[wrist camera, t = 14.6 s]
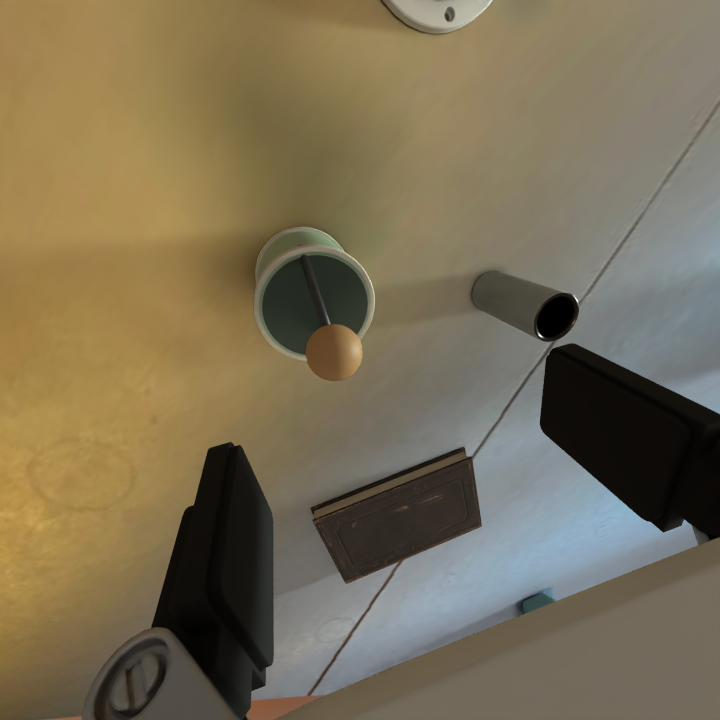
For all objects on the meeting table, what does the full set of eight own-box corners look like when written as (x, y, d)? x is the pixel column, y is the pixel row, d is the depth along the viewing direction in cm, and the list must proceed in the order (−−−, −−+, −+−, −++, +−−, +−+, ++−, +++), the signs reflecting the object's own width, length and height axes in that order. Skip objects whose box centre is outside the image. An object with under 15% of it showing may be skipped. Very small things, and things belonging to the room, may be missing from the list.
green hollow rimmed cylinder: (272, 329, 34) (240, 238, 29) (356, 307, 35) (339, 217, 31) (280, 451, 19) (220, 309, 15) (425, 407, 20) (413, 262, 16)
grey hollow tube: (475, 316, 39) (537, 350, 30) (467, 281, 37) (530, 306, 28) (509, 299, 39) (581, 328, 30) (503, 263, 37) (578, 283, 28)
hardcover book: (311, 507, 46) (312, 521, 44) (463, 446, 48) (472, 457, 46) (343, 571, 53) (346, 586, 51) (474, 516, 55) (482, 528, 53)
